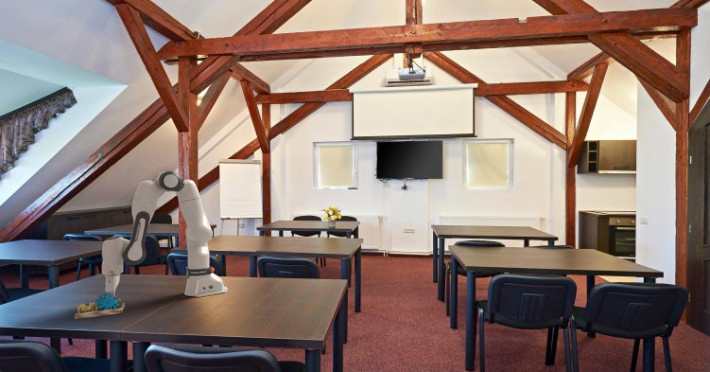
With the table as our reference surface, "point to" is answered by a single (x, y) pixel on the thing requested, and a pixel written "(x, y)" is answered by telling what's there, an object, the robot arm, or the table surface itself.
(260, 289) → the table surface
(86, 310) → the gear
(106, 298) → the gear
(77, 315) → the gear bench
